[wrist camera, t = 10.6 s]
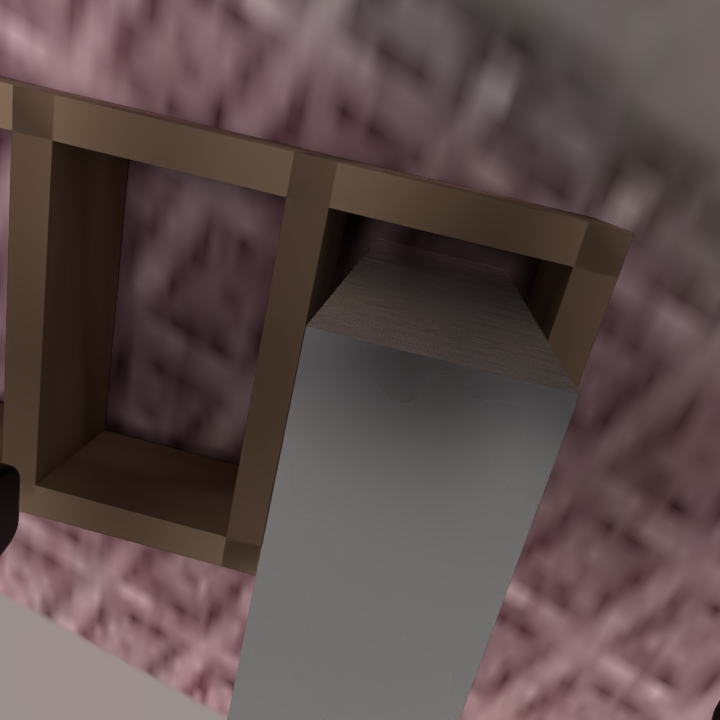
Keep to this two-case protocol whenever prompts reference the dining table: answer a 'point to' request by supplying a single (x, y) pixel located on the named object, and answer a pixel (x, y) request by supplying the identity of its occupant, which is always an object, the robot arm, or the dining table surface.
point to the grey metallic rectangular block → (400, 492)
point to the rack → (282, 320)
